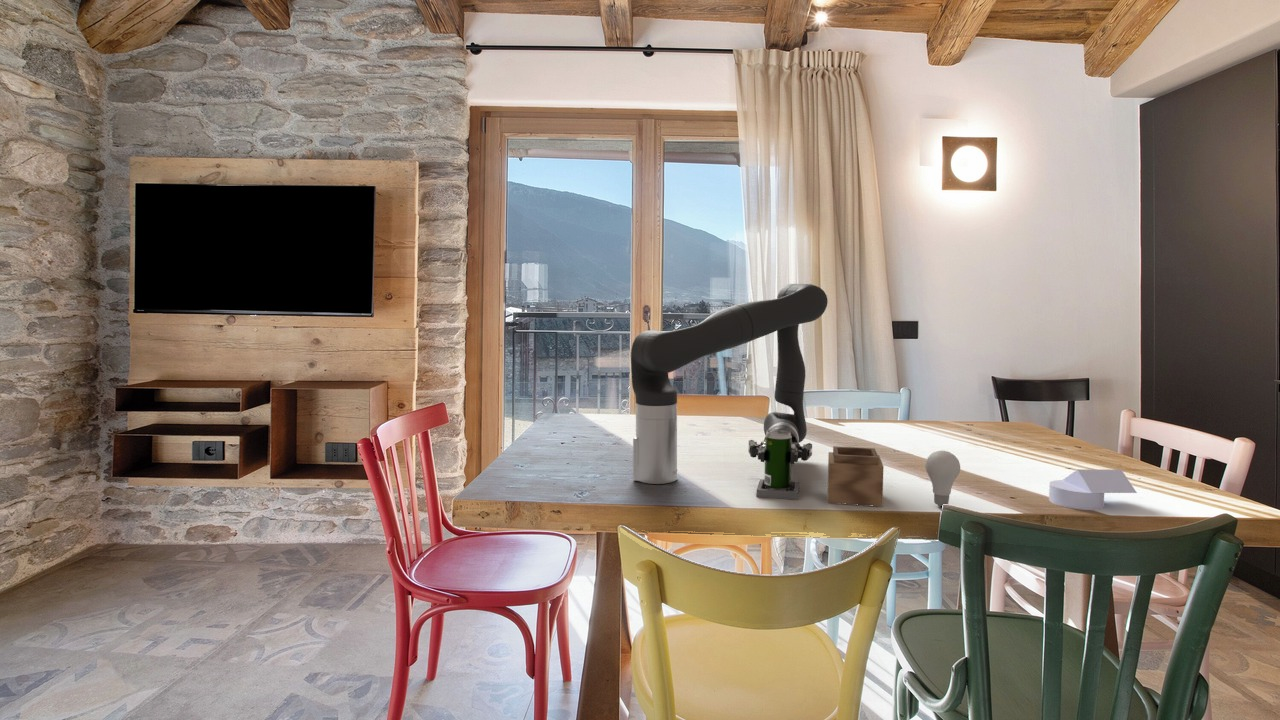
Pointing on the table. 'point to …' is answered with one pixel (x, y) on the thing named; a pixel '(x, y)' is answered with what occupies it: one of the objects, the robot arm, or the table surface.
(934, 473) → the lightbulb
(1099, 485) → the wedge on round base
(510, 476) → the table surface
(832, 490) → the walnut stand
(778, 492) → the charcoal holder
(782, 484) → the beer can
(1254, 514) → the table surface
